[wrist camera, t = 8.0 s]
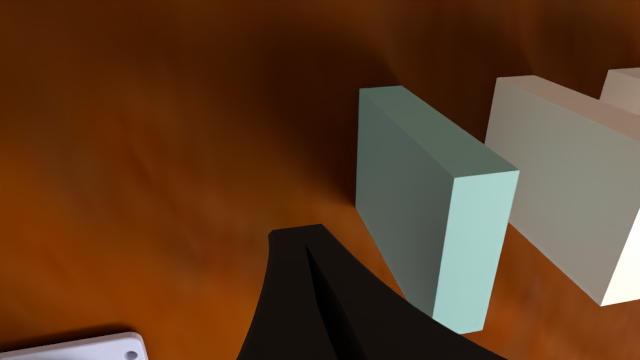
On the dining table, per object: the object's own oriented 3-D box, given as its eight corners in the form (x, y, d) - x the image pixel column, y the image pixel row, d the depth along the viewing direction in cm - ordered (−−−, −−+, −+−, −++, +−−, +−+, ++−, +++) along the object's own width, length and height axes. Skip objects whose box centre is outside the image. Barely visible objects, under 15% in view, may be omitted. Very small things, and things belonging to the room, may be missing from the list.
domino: (508, 187, 19) (645, 297, 13) (475, 191, 19) (600, 306, 13) (534, 75, 17) (716, 145, 11) (497, 77, 16) (662, 151, 10)
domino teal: (392, 203, 18) (482, 329, 12) (355, 207, 18) (429, 340, 12) (401, 85, 16) (519, 170, 10) (359, 88, 15) (454, 178, 9)
